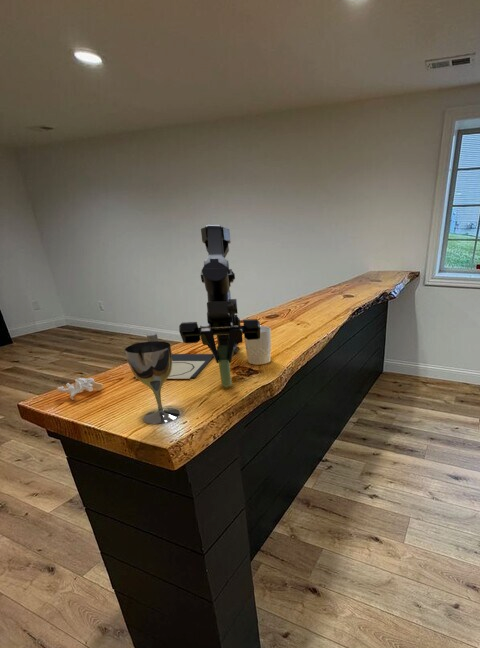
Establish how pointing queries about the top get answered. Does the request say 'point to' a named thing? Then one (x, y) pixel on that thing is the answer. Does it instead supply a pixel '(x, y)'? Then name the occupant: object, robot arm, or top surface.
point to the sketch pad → (188, 365)
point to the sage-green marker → (224, 365)
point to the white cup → (259, 347)
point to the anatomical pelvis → (81, 386)
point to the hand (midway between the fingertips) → (223, 361)
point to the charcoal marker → (152, 337)
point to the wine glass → (153, 374)
